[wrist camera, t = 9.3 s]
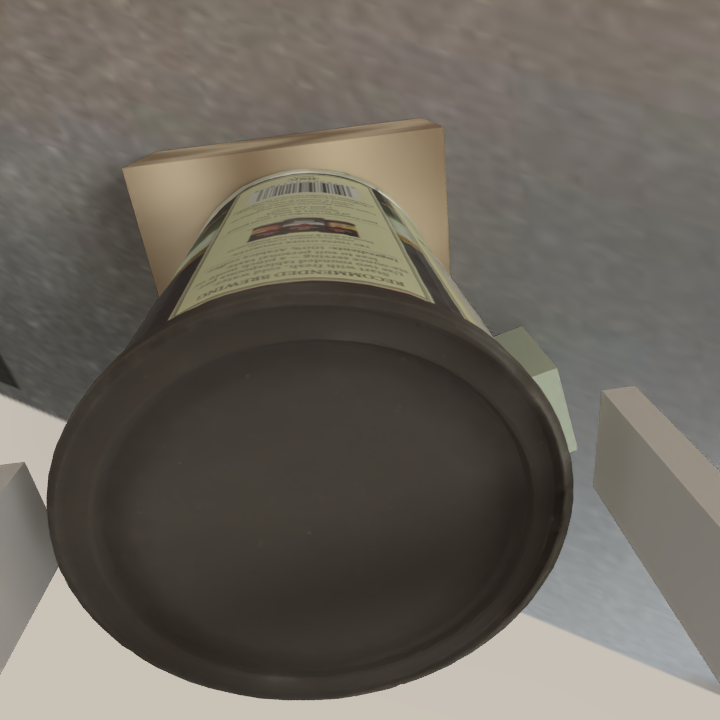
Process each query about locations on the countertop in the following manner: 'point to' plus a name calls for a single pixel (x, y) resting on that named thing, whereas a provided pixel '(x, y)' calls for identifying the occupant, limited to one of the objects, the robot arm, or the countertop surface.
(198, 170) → the beech block
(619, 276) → the countertop surface
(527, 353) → the sage block
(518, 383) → the coffee can
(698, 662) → the countertop surface
